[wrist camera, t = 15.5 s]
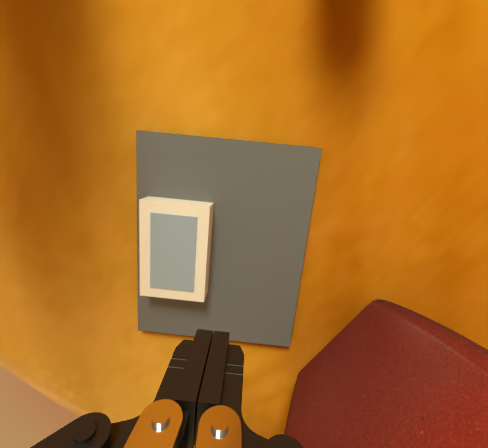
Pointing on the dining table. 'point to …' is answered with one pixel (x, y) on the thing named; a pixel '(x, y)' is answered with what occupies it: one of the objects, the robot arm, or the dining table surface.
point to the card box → (174, 248)
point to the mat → (234, 231)
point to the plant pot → (393, 386)
